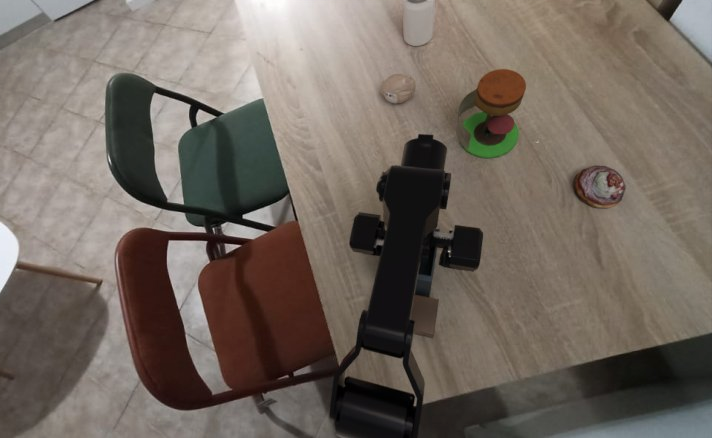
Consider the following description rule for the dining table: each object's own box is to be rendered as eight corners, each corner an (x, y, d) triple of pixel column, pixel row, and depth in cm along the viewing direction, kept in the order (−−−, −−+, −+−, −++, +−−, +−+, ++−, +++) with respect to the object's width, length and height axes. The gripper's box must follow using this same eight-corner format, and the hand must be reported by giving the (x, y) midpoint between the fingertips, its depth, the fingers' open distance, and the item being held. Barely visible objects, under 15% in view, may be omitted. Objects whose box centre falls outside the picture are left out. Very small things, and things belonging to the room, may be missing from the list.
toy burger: (518, 104, 87) (537, 50, 74) (523, 159, 83) (544, 112, 70) (454, 108, 91) (461, 57, 78) (455, 161, 87) (463, 116, 73)
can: (400, 46, 101) (399, 3, 91) (407, 24, 103) (407, -20, 93) (429, 48, 99) (431, 5, 88) (436, 26, 101) (439, -19, 90)
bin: (425, 322, 71) (437, 245, 66) (382, 313, 74) (390, 238, 68) (431, 280, 83) (442, 212, 78) (394, 273, 86) (401, 207, 80)
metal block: (432, 338, 75) (433, 334, 72) (374, 325, 79) (372, 321, 75) (437, 304, 77) (438, 299, 74) (380, 293, 81) (378, 287, 77)
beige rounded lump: (392, 114, 95) (391, 90, 88) (377, 95, 98) (374, 70, 91) (420, 98, 94) (420, 73, 87) (403, 80, 97) (403, 54, 90)
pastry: (621, 212, 74) (635, 200, 70) (570, 205, 77) (579, 192, 73) (624, 171, 77) (637, 157, 72) (574, 166, 80) (583, 151, 75)
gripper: (494, 177, 60) (478, 221, 73) (358, 164, 66) (366, 207, 80) (486, 254, 56) (471, 285, 70) (342, 232, 63) (354, 264, 77)
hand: (413, 257), depth 74 cm, fingers open, 8 cm apart
